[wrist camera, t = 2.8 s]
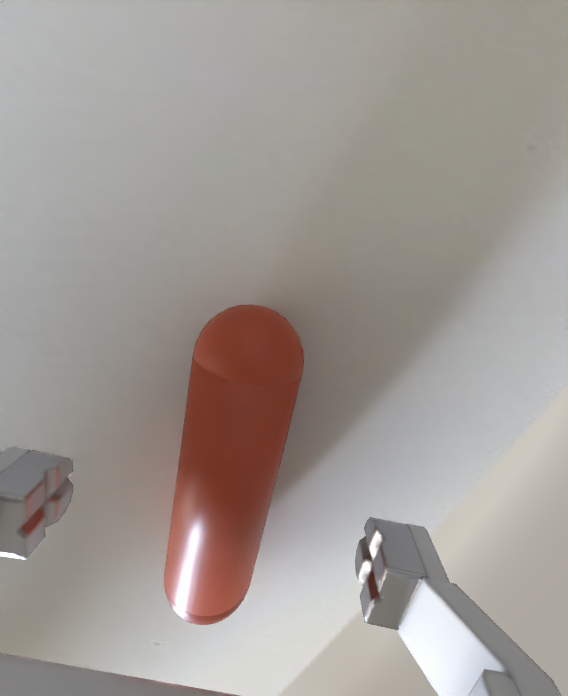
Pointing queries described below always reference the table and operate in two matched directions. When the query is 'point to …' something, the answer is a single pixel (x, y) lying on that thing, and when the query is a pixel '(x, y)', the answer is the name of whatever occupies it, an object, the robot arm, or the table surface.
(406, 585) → the robot arm
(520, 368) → the table surface
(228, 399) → the orange round-ended cylinder
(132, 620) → the table surface
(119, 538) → the table surface
